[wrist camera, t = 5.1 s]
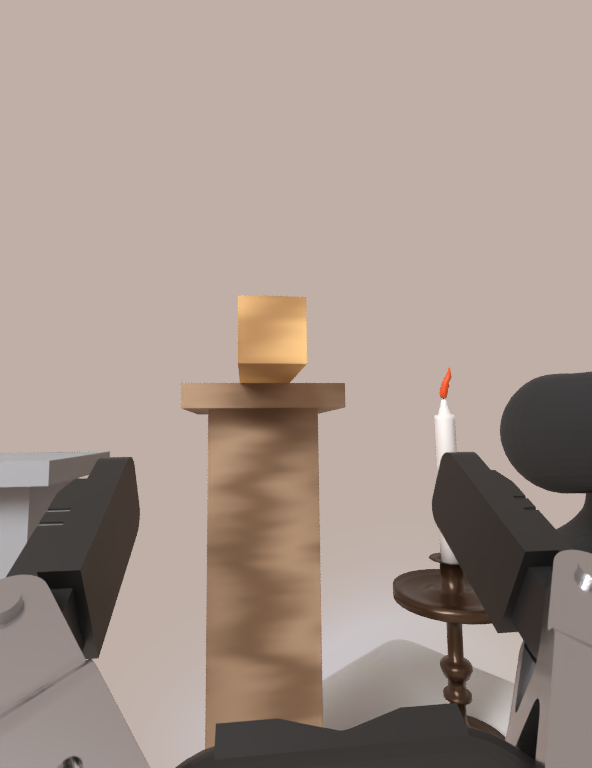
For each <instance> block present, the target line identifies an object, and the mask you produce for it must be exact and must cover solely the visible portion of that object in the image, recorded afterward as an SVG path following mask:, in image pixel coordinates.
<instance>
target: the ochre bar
mask: <svg viewBox="0 0 592 768" xmlns="http://www.w3.org/2000/svg"><path fill="white" fill-rule="evenodd" d="M306 364H307V327H306V297H283V296H242V295H239V296H238V368H239V377H240V383H290V382H291V381H292V379H293V378H294V377H295V376H296V375H297V374H298V373H299V372H300V371H301V370H302V368H303V367H304V366H305V365H306Z"/></svg>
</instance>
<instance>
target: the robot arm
mask: <svg viewBox="0 0 592 768" xmlns="http://www.w3.org/2000/svg"><path fill="white" fill-rule="evenodd" d="M500 436H501V442H502V446H503V448H504V451H505V454H506V456H507V457H508V459H509V461H510V462H511V464H512V465H513V466H514V468H515V469H516V470H517V471H518V472H519V473H520V474H521V475H522V476H523V477H524V478H525V479H527V480H528V481H530V482H531V483H533V484H534V485H536V486H539V487H541V488H543V489H546V490H548V491H552V492H558V493H586V499H585V504H584V507H583V508H582V510H581V511H580V512H579V513H578V514H577V515H576V516H575V517H574V518H573V519H572V520H571V521H569V522H568V523H567V524H565V525H563V526H562V527H560V528H558V529H555V528H554V527H553V526H552V525H551V524H550V523H549V521H548V520H547V519H546V518H545V517H544V516H543V515H542V514H541V513H540V511H539V510H536V507H535V506H534V505H533V504H532V503H531V501H530V500H529V499H528V498H527V499H526V498H525V495H524V494H523V493H522V491H520V489H519V488H518V487H517V486H516V485H515V484H514V483H513V482H512V481H511V480H509V479H508V478H506V477H504V476H503V475H501V474H500V473H498V472H497V471H495V470H490V469H489V468H488V466H487V465H486V464H485V463H484V462H483V461H482V460H481V458H480V457H479V456H478V455H477V454H476V453H475V452H446V453H444V454H443V456H442V458H441V461H440V466H439V470H438V475H437V480H436V485H435V489H434V494H433V499H432V511H433V516H434V520H435V522H436V524H437V526H438V528H439V530H440V531H441V533H442V535H443V537H444V538H445V540H446V542H447V544H448V546H449V547H450V549H451V551H452V553H453V554H454V556H455V558H456V560H457V562H458V563H459V565H460V567H461V569H462V570H463V572H464V574H465V576H466V578H467V579H468V581H469V583H470V585H471V586H472V588H473V590H474V592H475V594H476V595H477V597H478V599H479V601H480V602H481V604H482V606H483V608H484V610H485V611H486V613H487V615H488V617H489V618H490V620H491V622H492V624H493V625H494V627H495V629H496V631H497V632H498V633H507V632H519V633H520V635H521V637H522V638H523V643H522V645H521V648H520V652H519V658H518V665H517V672H516V679H515V685H514V692H513V699H512V706H511V712H510V719H509V725H508V730H507V734H506V738H505V740H503V739H502V738H499V737H497V736H495V735H493V734H491V733H489V732H487V731H484V730H481V729H478V728H475V727H472V726H467V725H465V722H464V720H463V717H462V715H461V712H460V710H459V707H458V705H457V703H451V704H439V705H428V706H416V707H404V708H399V709H396V710H394V711H392V712H389V713H387V714H384V715H382V716H380V717H377V718H375V719H373V720H370V721H368V722H365V723H363V724H361V725H358V726H356V727H353V728H351V729H348V730H344V731H338V730H333V729H328V728H323V727H318V726H313V725H308V724H303V723H298V722H293V721H289V720H284V719H279V718H275V719H264V720H252V721H240V722H229V723H217V724H216V729H215V746H213V747H210V748H208V749H205V750H203V751H201V752H199V753H197V754H195V755H194V756H192V757H190V758H188V759H187V760H185V761H184V762H182V763H181V764H180V765H178V766H177V767H176V768H592V372H585V373H574V374H552V375H545V376H541V377H538V378H535V379H533V380H531V381H530V382H528V383H526V384H525V385H523V386H522V387H521V388H520V389H519V390H518V391H517V392H516V393H515V394H514V395H513V396H512V397H511V399H510V401H509V402H508V404H507V406H506V408H505V410H504V412H503V415H502V419H501V425H500ZM139 516H140V508H139V500H138V492H137V483H136V475H135V466H134V461H133V459H132V457H113V458H99V459H98V460H97V462H96V463H95V465H94V467H93V469H92V471H91V473H90V475H89V477H88V478H87V479H74V480H73V481H72V482H70V483H69V484H68V485H67V486H65V487H64V488H63V489H62V490H60V491H59V492H58V493H57V494H56V496H55V498H54V499H53V501H52V502H51V504H50V506H49V507H48V511H47V512H45V514H44V515H43V517H42V519H41V520H40V522H39V526H37V527H36V529H35V530H34V532H33V533H32V535H31V537H30V538H29V540H28V542H27V543H26V545H25V547H24V548H23V550H22V551H21V553H20V555H19V556H18V558H17V560H16V561H15V563H14V564H13V566H12V568H11V569H10V571H9V573H8V574H7V576H6V578H3V579H0V768H150V766H149V765H148V763H147V761H146V759H145V757H144V755H143V753H142V751H141V749H140V747H139V746H138V744H137V742H136V740H135V738H134V736H133V734H132V732H131V730H130V728H129V726H128V724H127V723H126V721H125V719H124V717H123V715H122V713H121V711H120V709H119V707H118V705H117V704H116V702H115V700H114V698H113V696H112V694H111V692H110V690H109V688H108V686H107V684H106V683H105V681H104V679H103V677H102V675H101V673H100V671H99V669H98V667H97V666H96V664H95V663H94V662H93V660H92V659H93V658H98V657H99V654H100V651H101V648H102V645H103V642H104V638H105V635H106V632H107V629H108V626H109V622H110V619H111V616H112V613H113V609H114V606H115V603H116V600H117V597H118V593H119V590H120V587H121V584H122V581H123V577H124V574H125V571H126V567H127V565H128V561H129V558H130V555H131V552H132V548H133V545H134V542H135V538H136V536H137V532H138V527H139ZM86 659H88V660H86Z"/></svg>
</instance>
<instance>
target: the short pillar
mask: <svg viewBox="0 0 592 768" xmlns="http://www.w3.org/2000/svg"><path fill="white" fill-rule="evenodd" d="M109 455H110V452H58V453H57V452H56V453H0V579H3V578H6V576H7V574H8V573H9V571H10V569H11V568H12V566H13V564H14V563H15V561H16V560H17V558H18V556H19V555H20V553H21V551H22V550H23V548H24V547H25V545H26V543H27V542H28V540H29V538H30V537H31V535H32V533H33V532H34V530H35V529H36V527H37V526H39V522H40V520H41V519H42V517H43V515H44V514H45V512H47V511H48V507H49V506H50V504H51V502H52V501H53V499H54V498H55V496H56V494H57V493H58V492H59V491H60V490H62V489H63V488H64V487H65V486H67V485H68V484H69V483H70V482H72V481H73V480H74V479H78V478H79V477H83V476H86V475H90V473H91V471H92V469H93V467H94V465H95V463H96V462H97V460H98V459H99V458H109V457H110V456H109Z"/></svg>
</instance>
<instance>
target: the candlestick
mask: <svg viewBox="0 0 592 768" xmlns="http://www.w3.org/2000/svg"><path fill="white" fill-rule="evenodd" d="M450 379H451V373H450V368H448V372H447V374H446V376H445V378H444V380H443V382H442V385H441V388H440V396H441V398H443V400H441V405H440V409H439V413H438V415H434V416H435V439H436V462H437V475H438V470H439V466H440V461H441V458H442V456H443V454H444V453H446V452H456V433H455V415H451V414H450V411H449V408H448V405H447V400H444V398H446V397H447V393H448V388H449V381H450ZM440 552H441V553H435V554H432V555H430V556H429V558H430V559H431V560H433V561H435V562H439V563H440V569H426V570H417V571H411V572H407V573H404V574H402V575H400V576H398V577H397V578H396V579H394V582H393V595H394V599H395V600H396V602H397V603H398V604H399V605H400V606H402V607H403V608H405V609H407V610H408V611H410V612H413V613H415V614H418V615H420V616H423V617H427V618H430V619H434V620H439V621H443V622H447V642H448V655H447V656H445V657H443V658H442V659H441V661H440V666H441V669H442V671H443V673H444V675H445V676H446V677H447V678H448V686H447V687H445V688H444V690H443V693H444V697H445V698H446V700H448V701H449V702H450V704H451V703H457V705H458V707H459V710H460V712H461V715H462V717H463V720H464V722H465V725H467V726H472V727H475V728H478V729H481V730H484V731H487V732H489V733H491V734H493V735H495V736H497V737H499V738H502V739H503V740H505V737H504V736H503V735H502V734H501V733H500V732H499V731H497V730H496V729H495V728H493V727H492V726H490V725H488V724H486V723H485V722H483V721H480V720H478V719H476V718H473V717H470V716H467V715H466V705H467V704H469V703H471V701H472V694H471V692H470V691H469V690H467V689H466V681H467V680H469V678H470V676H471V674H472V672H473V669H472V665H471V663H470V662H469V661H468V660H467V659H465V658H464V657H463V637H462V624H490V623H492V622H491V620H490V618H489V617H488V615H487V613H486V611H485V610H484V608H483V606H482V604H481V602H480V601H479V599H478V597H477V595H476V594H475V592H474V590H473V588H472V586H471V585H470V583H469V581H468V579H467V578H466V576H465V574H464V572H463V570H462V569H461V567H460V565H459V563H458V562H457V560H456V558H455V556H454V554H453V553H452V551H451V549H450V547H449V546H448V544H447V542H446V540H445V538H444V537H443V535H442V533H441V531H440Z"/></svg>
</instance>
